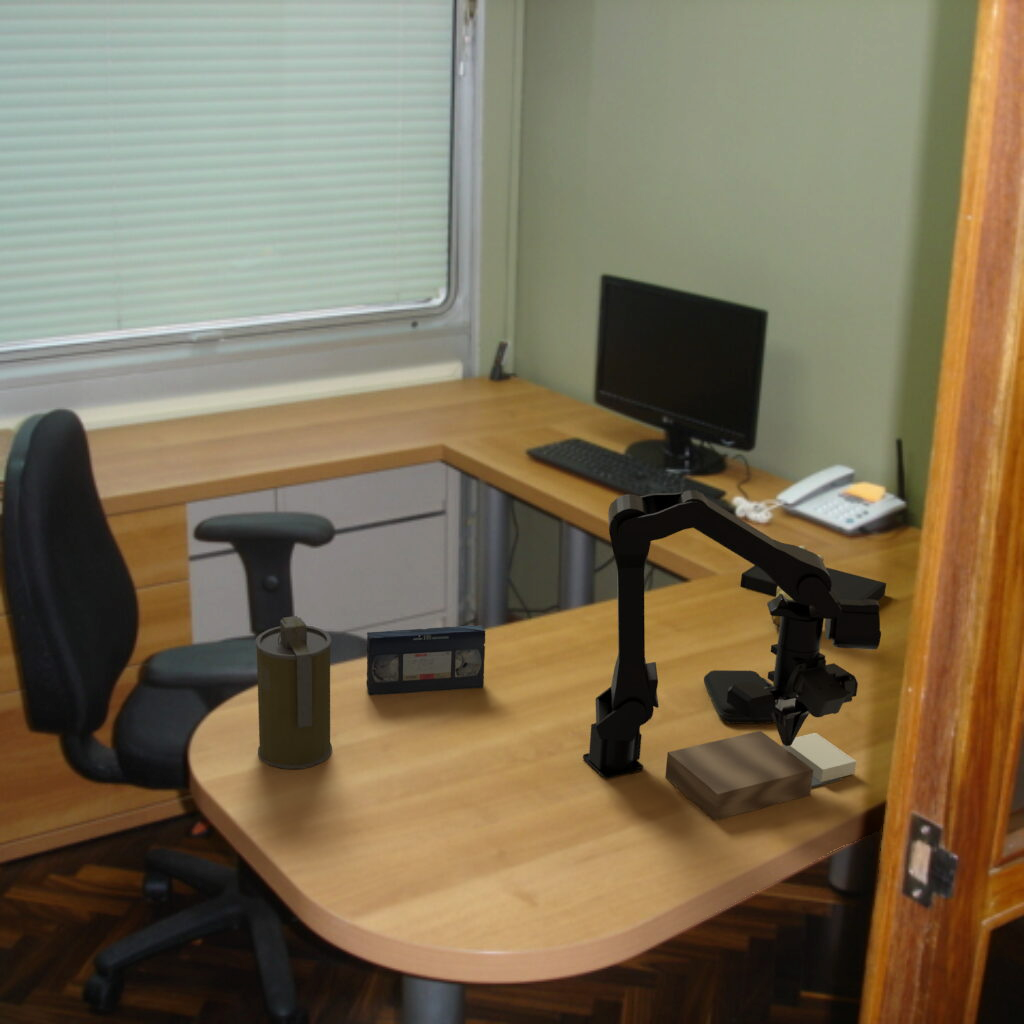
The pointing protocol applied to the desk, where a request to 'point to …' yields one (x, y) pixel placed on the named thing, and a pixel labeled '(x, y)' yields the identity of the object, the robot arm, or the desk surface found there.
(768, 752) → the riser
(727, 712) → the carrying case or bag
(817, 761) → the cream rectangular box
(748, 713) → the robot arm
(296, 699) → the canister
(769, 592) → the external hard drive
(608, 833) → the desk surface
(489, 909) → the desk surface
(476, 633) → the vhs cassette tape
